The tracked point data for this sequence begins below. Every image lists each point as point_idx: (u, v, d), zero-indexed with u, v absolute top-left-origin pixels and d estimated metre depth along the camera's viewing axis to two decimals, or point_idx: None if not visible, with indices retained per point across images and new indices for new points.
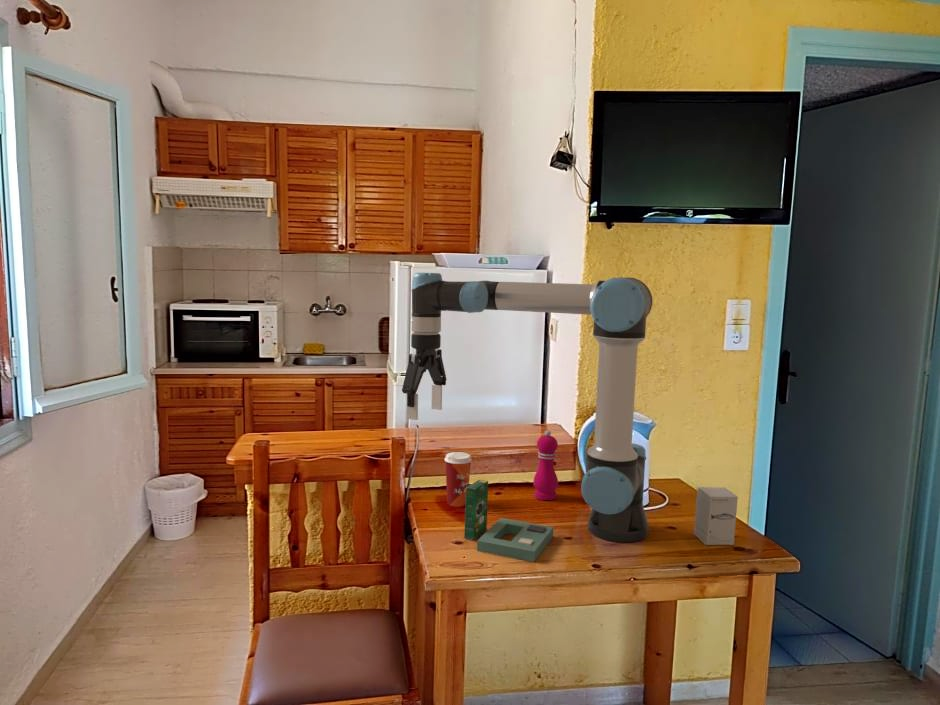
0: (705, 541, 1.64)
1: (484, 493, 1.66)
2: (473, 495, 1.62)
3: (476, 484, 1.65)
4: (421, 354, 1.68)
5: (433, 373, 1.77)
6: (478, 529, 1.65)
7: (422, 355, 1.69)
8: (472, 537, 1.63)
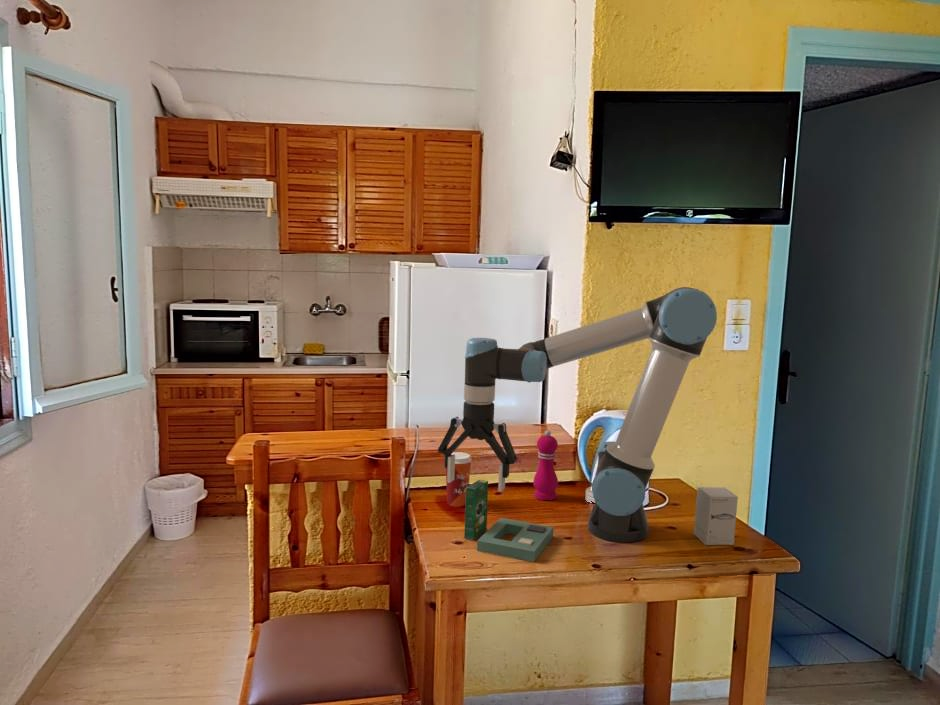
0: (705, 541, 1.64)
1: (484, 493, 1.66)
2: (473, 495, 1.62)
3: (476, 484, 1.65)
4: (462, 420, 1.64)
5: None
6: (478, 529, 1.65)
7: (462, 421, 1.64)
8: (472, 537, 1.63)
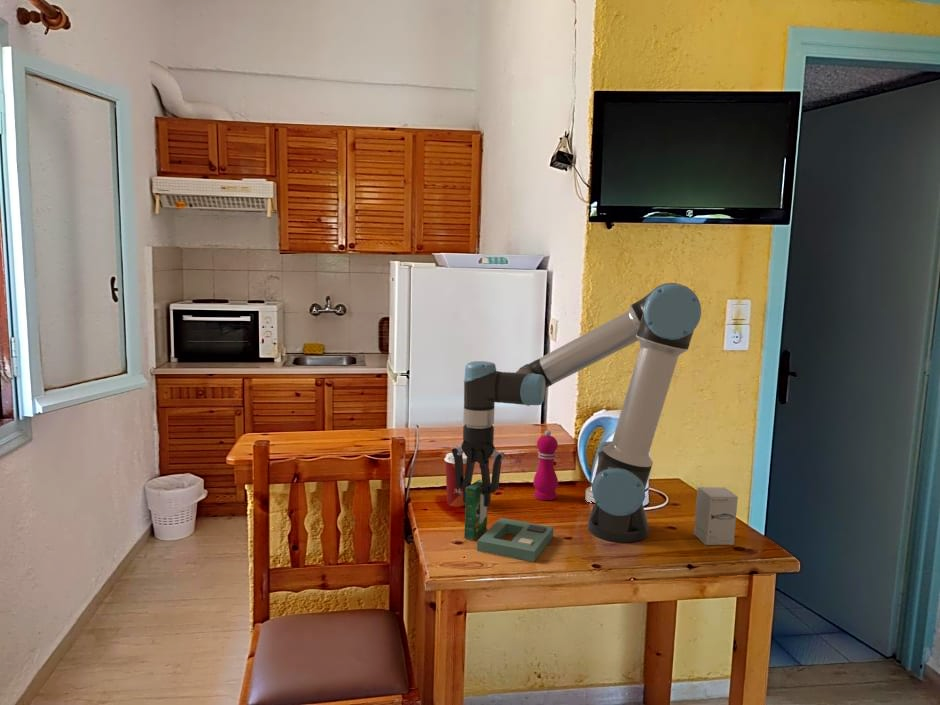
0: (705, 541, 1.64)
1: None
2: (473, 495, 1.62)
3: (476, 484, 1.65)
4: (461, 445, 1.65)
5: None
6: (478, 529, 1.65)
7: (462, 446, 1.65)
8: (472, 537, 1.63)
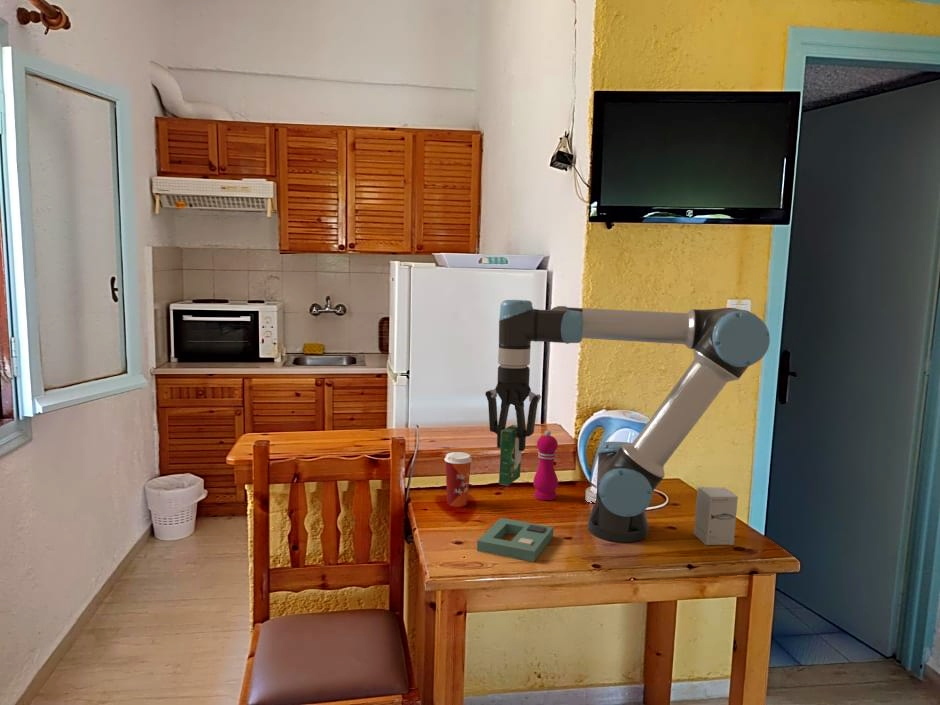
0: (705, 541, 1.64)
1: None
2: (509, 438, 1.56)
3: (511, 428, 1.59)
4: None
5: None
6: (513, 475, 1.59)
7: (496, 388, 1.59)
8: (507, 482, 1.57)
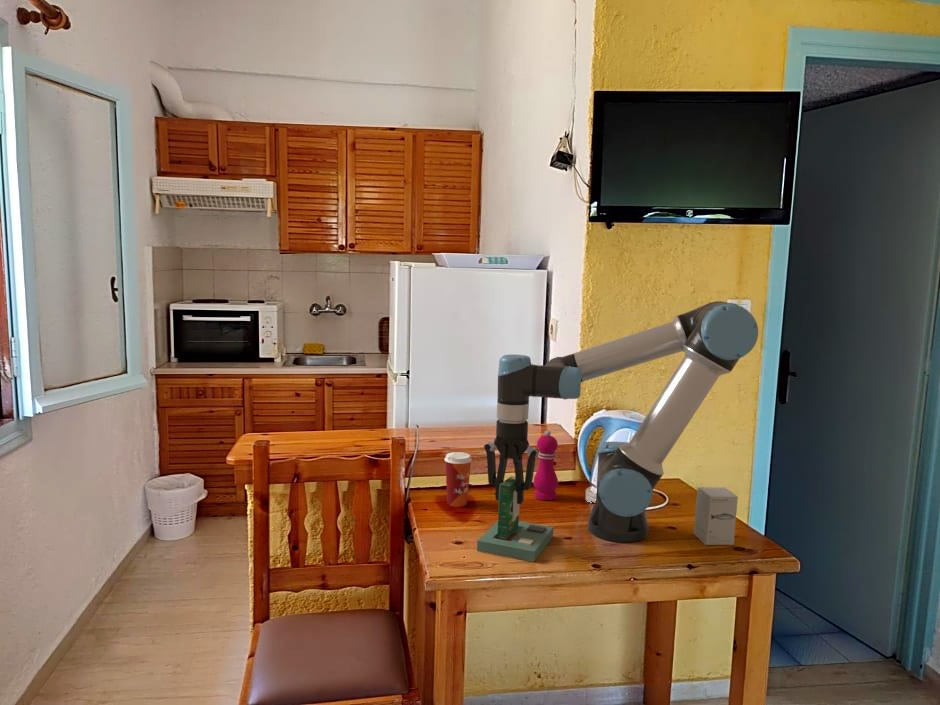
0: (705, 541, 1.64)
1: None
2: (507, 492, 1.57)
3: (509, 481, 1.60)
4: (494, 441, 1.60)
5: None
6: (511, 527, 1.60)
7: (495, 442, 1.60)
8: (505, 535, 1.59)
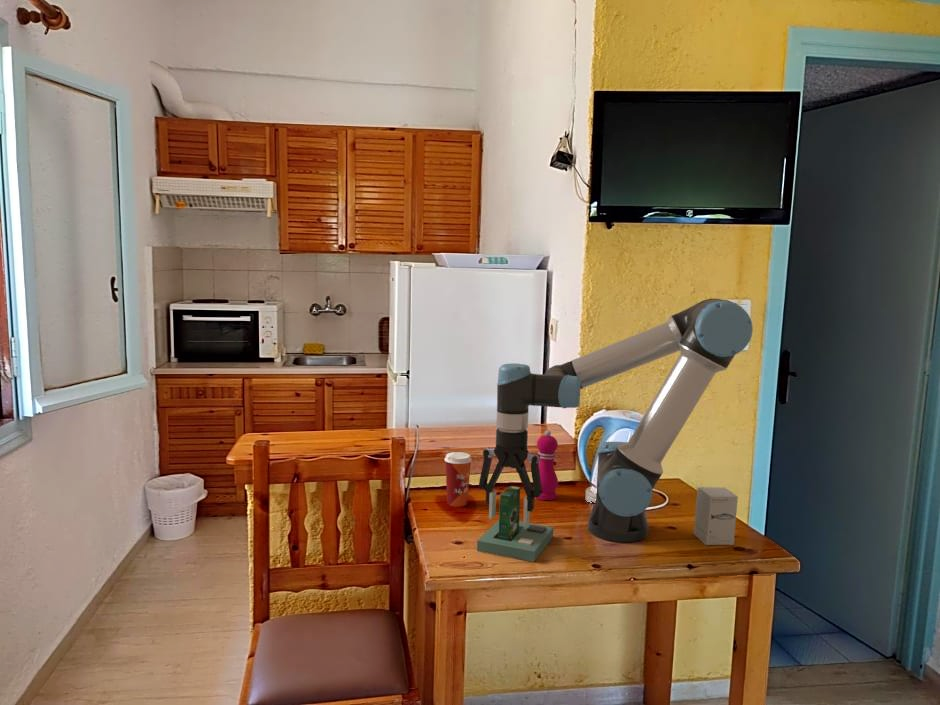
0: (705, 541, 1.64)
1: (517, 500, 1.62)
2: (508, 502, 1.58)
3: (509, 491, 1.61)
4: (494, 449, 1.61)
5: None
6: (512, 537, 1.61)
7: (495, 450, 1.60)
8: None
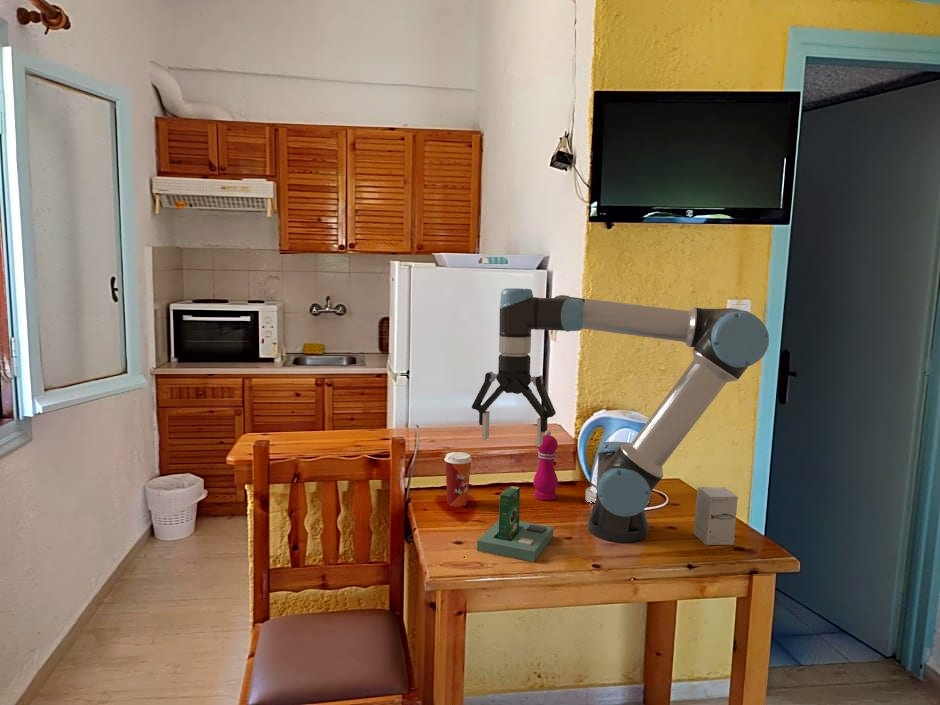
0: (705, 541, 1.64)
1: (517, 500, 1.62)
2: (508, 502, 1.58)
3: (509, 491, 1.61)
4: (497, 374, 1.59)
5: None
6: (512, 537, 1.61)
7: (497, 375, 1.59)
8: None
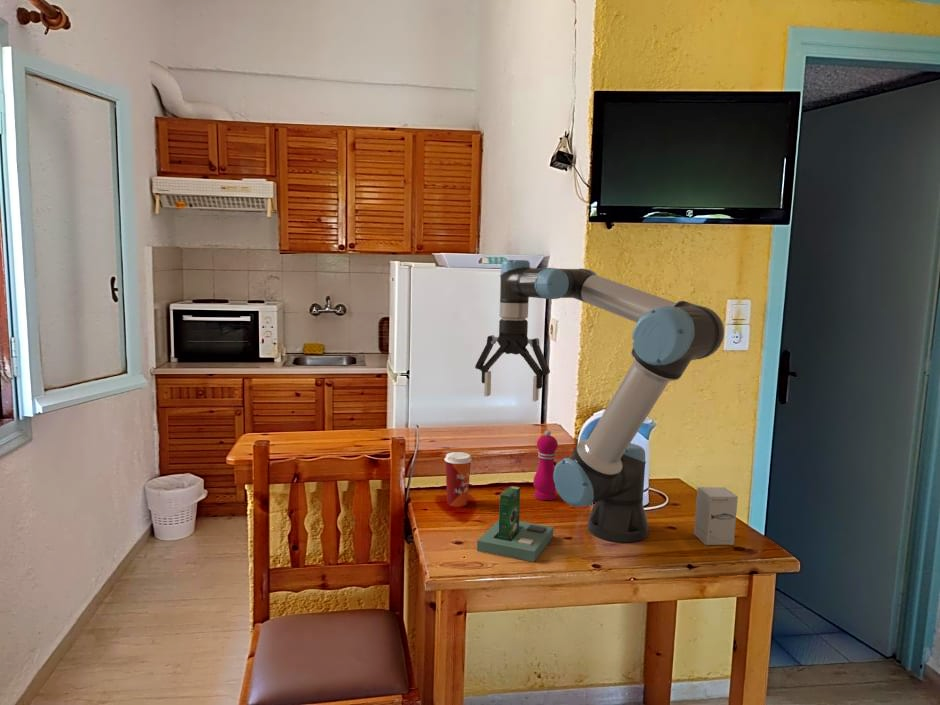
0: (705, 541, 1.64)
1: (517, 500, 1.62)
2: (508, 502, 1.58)
3: (509, 491, 1.61)
4: (498, 337, 1.78)
5: None
6: (512, 537, 1.61)
7: (498, 338, 1.77)
8: None
